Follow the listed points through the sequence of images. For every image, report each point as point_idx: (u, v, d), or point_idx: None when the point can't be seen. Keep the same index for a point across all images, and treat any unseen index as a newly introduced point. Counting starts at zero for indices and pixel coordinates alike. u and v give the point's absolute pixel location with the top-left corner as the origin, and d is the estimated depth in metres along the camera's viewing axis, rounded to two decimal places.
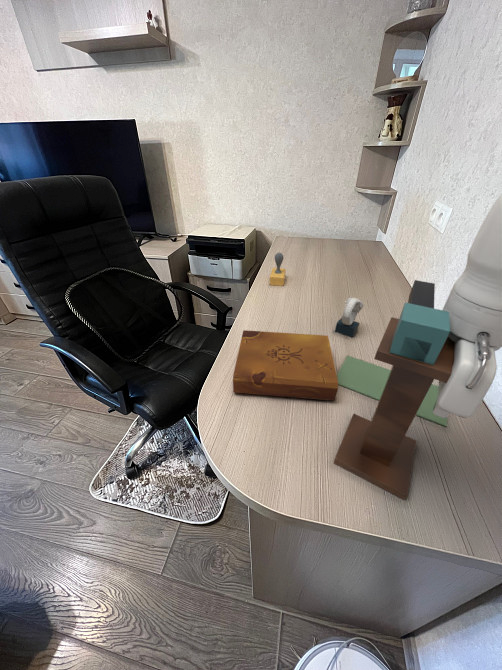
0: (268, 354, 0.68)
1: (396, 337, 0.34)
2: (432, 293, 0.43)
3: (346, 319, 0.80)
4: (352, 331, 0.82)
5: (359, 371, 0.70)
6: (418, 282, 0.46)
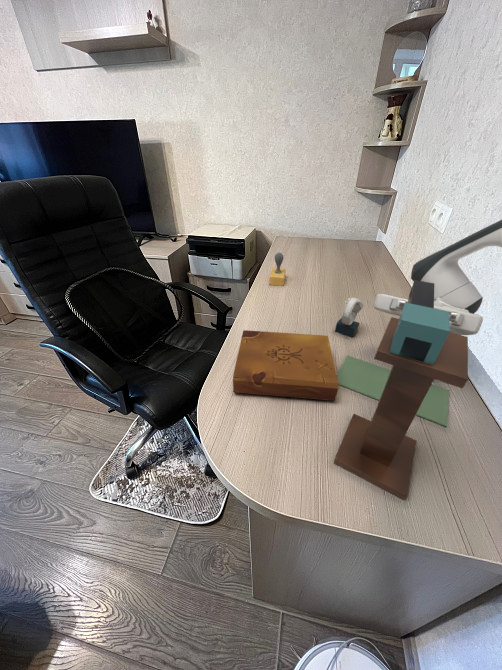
0: (268, 354, 0.68)
1: (396, 337, 0.34)
2: (432, 293, 0.43)
3: (346, 319, 0.80)
4: (352, 331, 0.82)
5: (359, 371, 0.70)
6: (417, 282, 0.46)
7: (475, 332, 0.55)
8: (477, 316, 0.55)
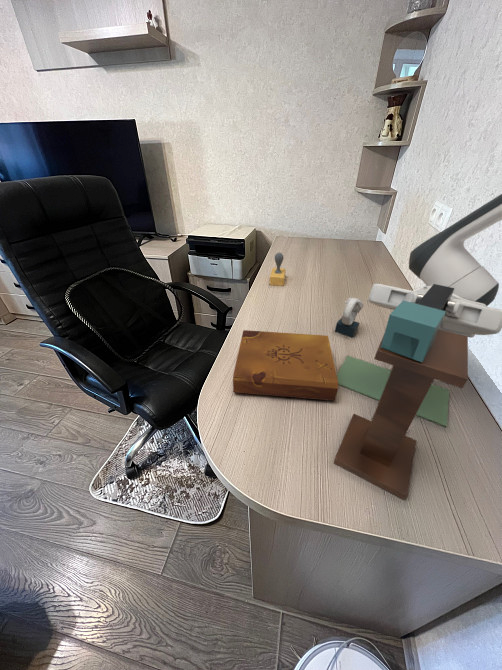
0: (268, 354, 0.68)
1: (386, 332, 0.35)
2: (446, 296, 0.42)
3: (346, 319, 0.80)
4: (352, 331, 0.82)
5: (359, 371, 0.70)
6: (435, 286, 0.45)
7: (497, 331, 0.43)
8: (499, 311, 0.43)
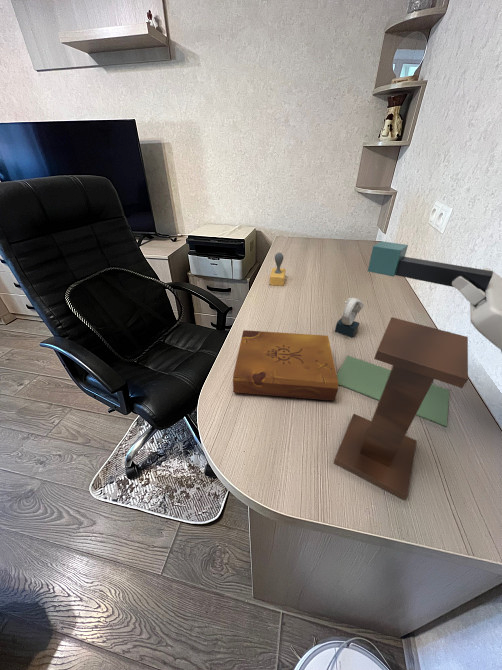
0: (268, 354, 0.68)
1: None
2: (459, 269, 0.47)
3: (346, 319, 0.80)
4: (352, 331, 0.82)
5: (359, 371, 0.70)
6: (486, 270, 0.46)
7: (473, 323, 0.42)
8: (490, 306, 0.41)
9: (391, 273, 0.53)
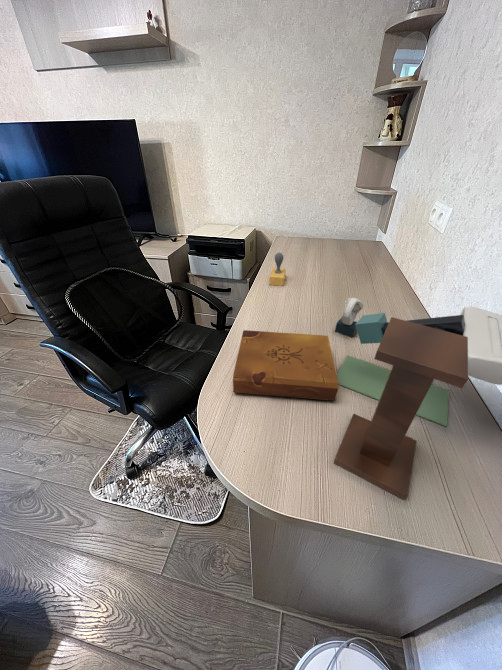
0: (268, 354, 0.68)
1: None
2: (433, 323, 0.53)
3: (346, 319, 0.80)
4: (352, 331, 0.82)
5: (359, 371, 0.70)
6: (456, 316, 0.52)
7: None
8: None
9: (380, 340, 0.60)
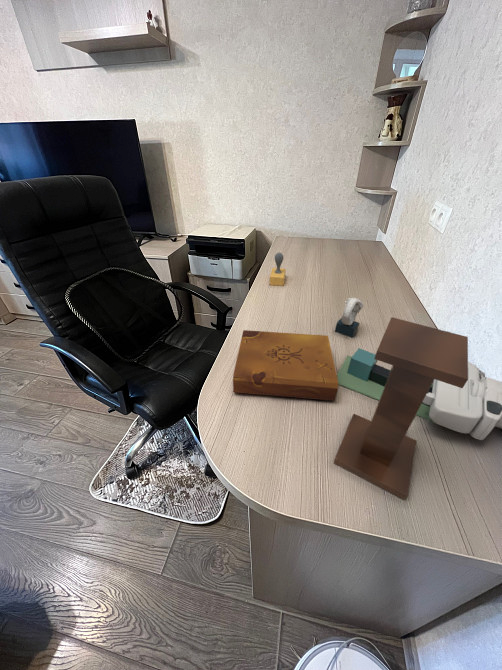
0: (268, 354, 0.68)
1: None
2: None
3: (346, 319, 0.80)
4: (352, 331, 0.82)
5: None
6: None
7: None
8: (435, 405, 0.53)
9: (365, 379, 0.67)
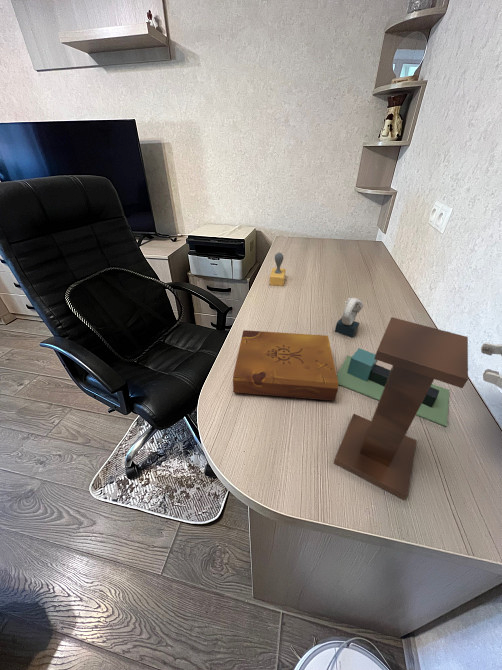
0: (268, 354, 0.68)
1: None
2: None
3: (346, 319, 0.80)
4: (352, 331, 0.82)
5: None
6: (434, 389, 0.61)
7: None
8: None
9: (365, 379, 0.67)
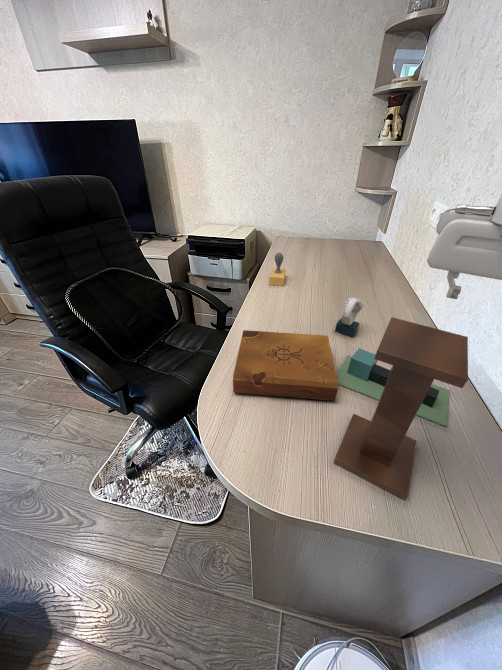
0: (268, 354, 0.68)
1: None
2: None
3: (346, 319, 0.80)
4: (352, 331, 0.82)
5: None
6: (434, 389, 0.61)
7: None
8: None
9: (365, 379, 0.67)
